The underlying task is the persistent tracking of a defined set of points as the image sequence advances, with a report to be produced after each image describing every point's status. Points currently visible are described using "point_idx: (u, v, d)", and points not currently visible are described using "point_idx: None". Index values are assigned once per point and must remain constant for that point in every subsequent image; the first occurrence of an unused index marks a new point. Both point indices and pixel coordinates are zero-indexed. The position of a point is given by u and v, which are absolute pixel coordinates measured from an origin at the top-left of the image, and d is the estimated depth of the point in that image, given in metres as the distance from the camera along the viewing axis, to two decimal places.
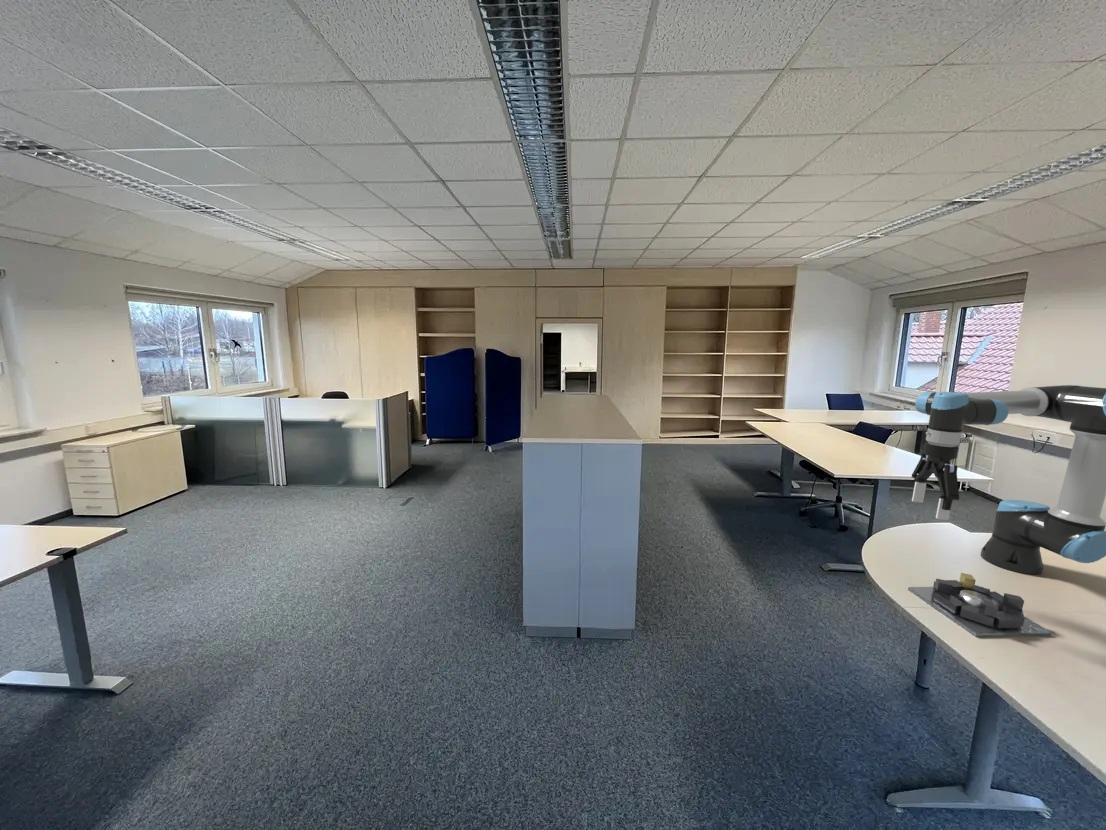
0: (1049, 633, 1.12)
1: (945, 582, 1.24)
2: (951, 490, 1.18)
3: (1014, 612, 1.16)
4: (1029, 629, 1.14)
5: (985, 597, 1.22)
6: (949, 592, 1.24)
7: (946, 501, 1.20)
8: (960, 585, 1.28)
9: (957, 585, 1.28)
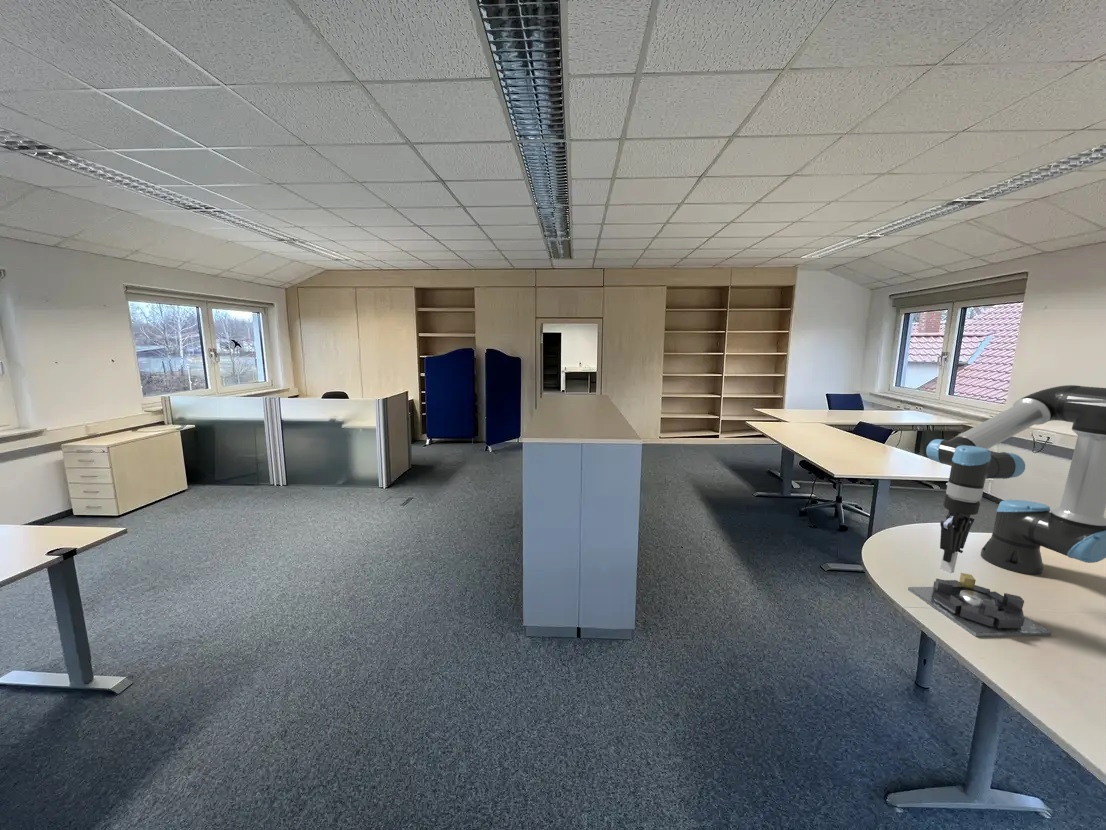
0: (1049, 633, 1.12)
1: (945, 582, 1.24)
2: (943, 543, 1.25)
3: (1014, 612, 1.16)
4: (1029, 629, 1.14)
5: (985, 597, 1.22)
6: (949, 592, 1.24)
7: (945, 552, 1.26)
8: (960, 585, 1.28)
9: (957, 585, 1.28)
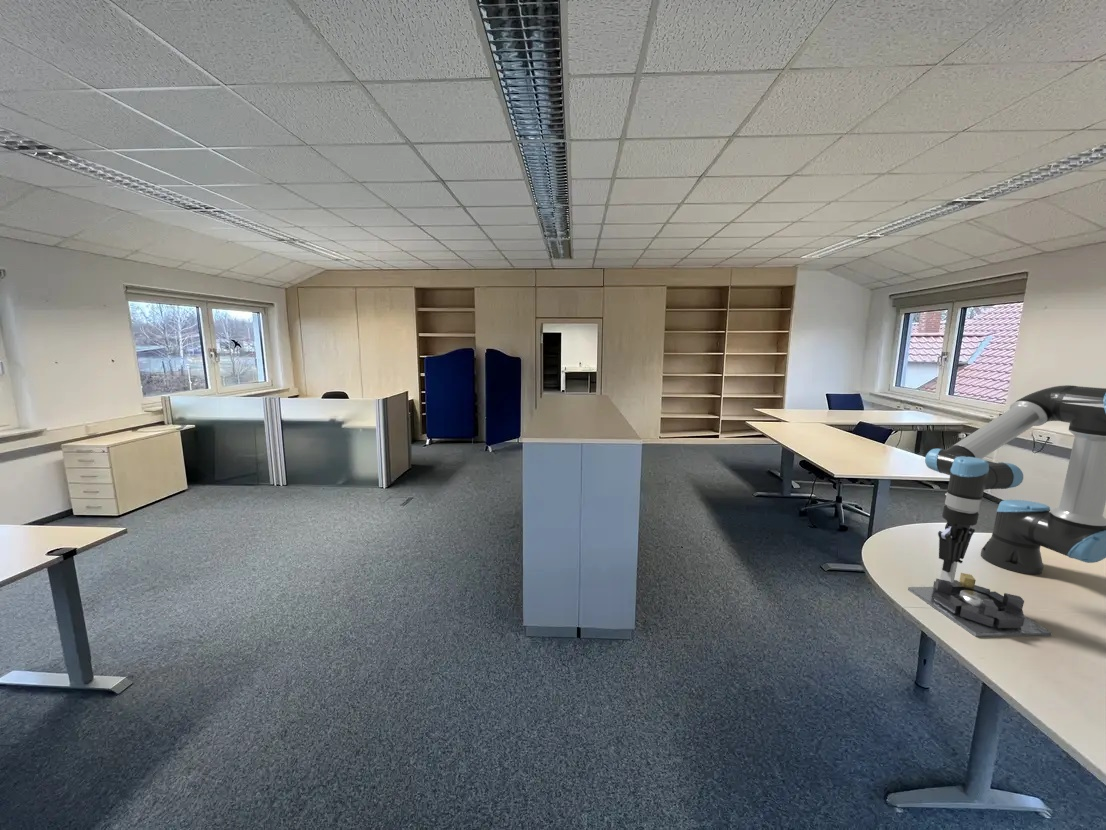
0: (1049, 633, 1.12)
1: (945, 582, 1.24)
2: (941, 553, 1.26)
3: (1014, 612, 1.16)
4: (1029, 629, 1.14)
5: (985, 597, 1.22)
6: (949, 592, 1.24)
7: (944, 562, 1.27)
8: (960, 585, 1.28)
9: (957, 585, 1.28)
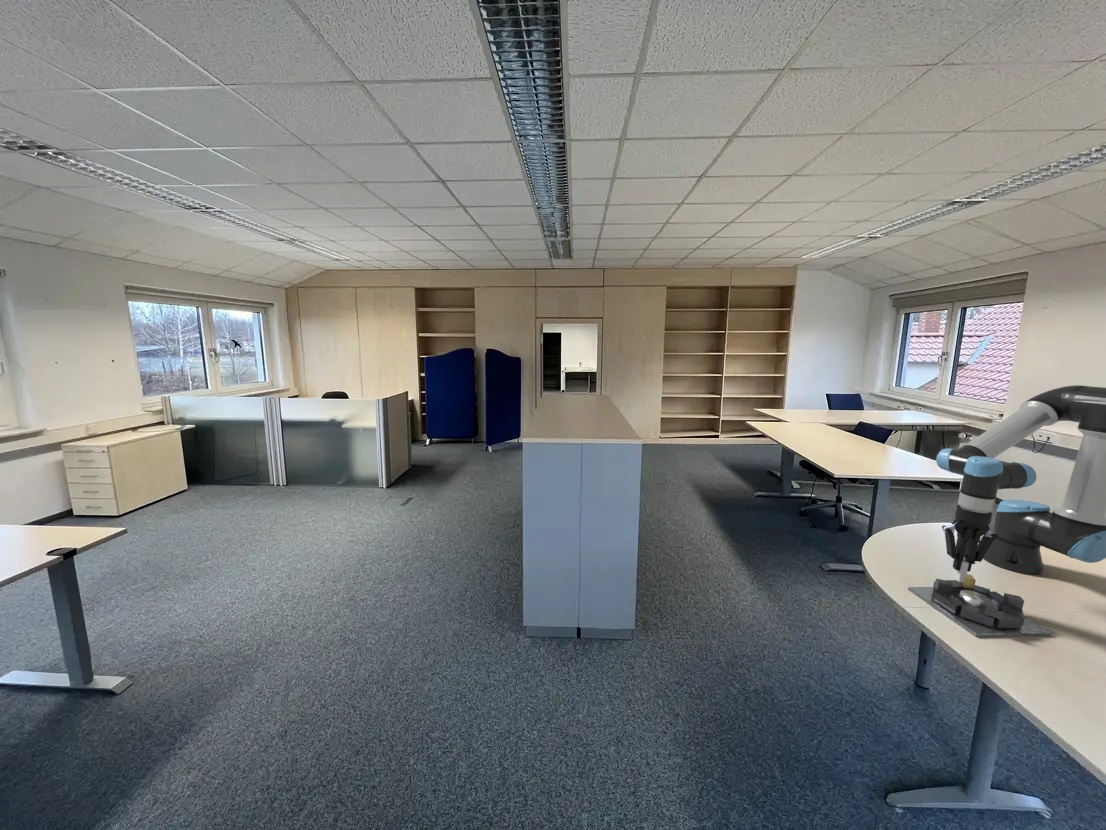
0: (1049, 633, 1.12)
1: (945, 582, 1.24)
2: (947, 548, 1.28)
3: (1014, 612, 1.16)
4: (1029, 629, 1.14)
5: (985, 597, 1.22)
6: (949, 592, 1.24)
7: (954, 560, 1.29)
8: (960, 585, 1.28)
9: (957, 585, 1.28)
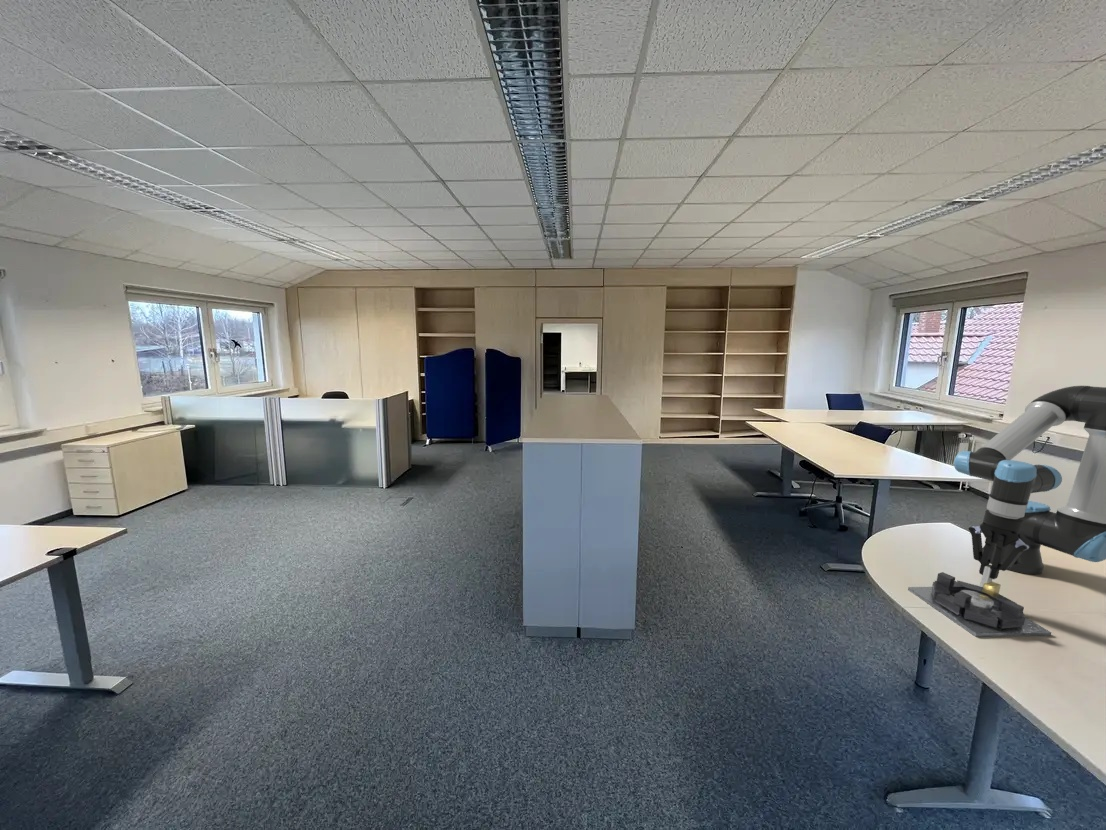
0: (1049, 633, 1.12)
1: (946, 575, 1.28)
2: None
3: (1001, 615, 1.14)
4: (1029, 629, 1.14)
5: (985, 597, 1.22)
6: (947, 585, 1.27)
7: None
8: (981, 590, 1.26)
9: (976, 589, 1.26)
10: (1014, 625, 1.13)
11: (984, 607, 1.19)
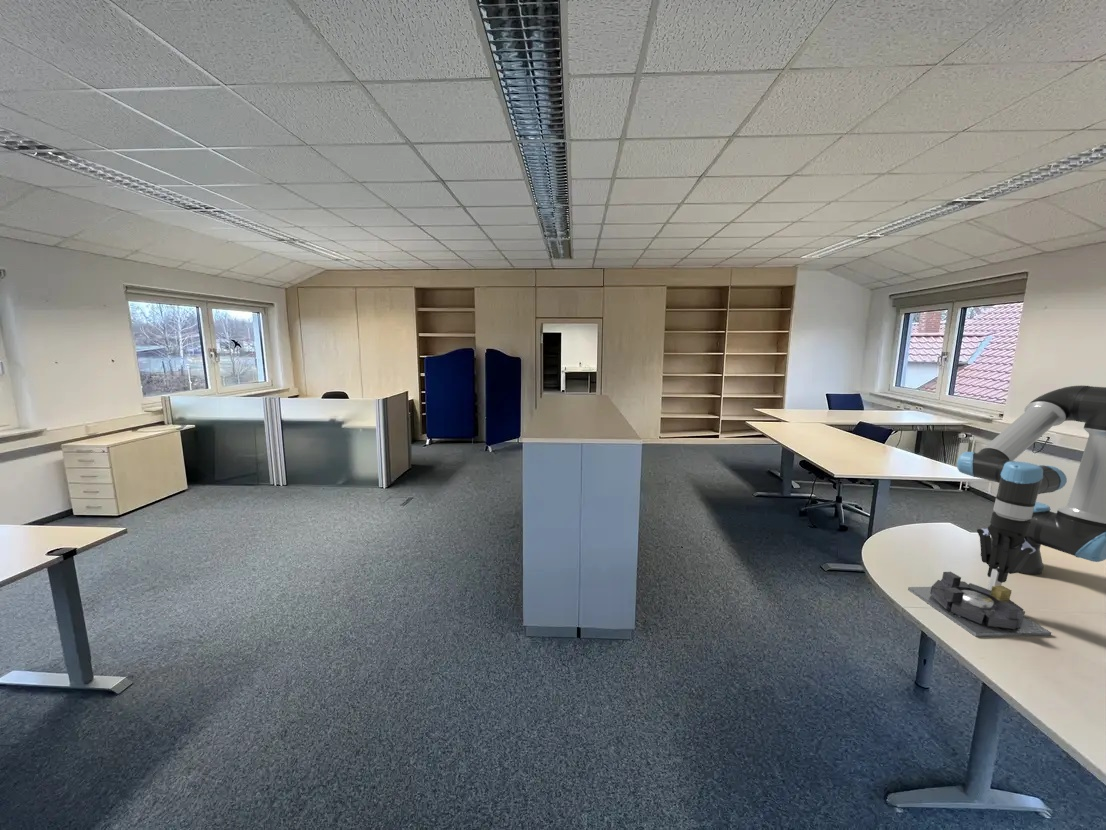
0: (1049, 633, 1.12)
1: (952, 574, 1.28)
2: None
3: (991, 614, 1.15)
4: (1029, 629, 1.14)
5: (985, 597, 1.22)
6: (950, 584, 1.28)
7: None
8: (990, 594, 1.24)
9: (985, 592, 1.25)
10: (1004, 625, 1.13)
11: (984, 607, 1.19)
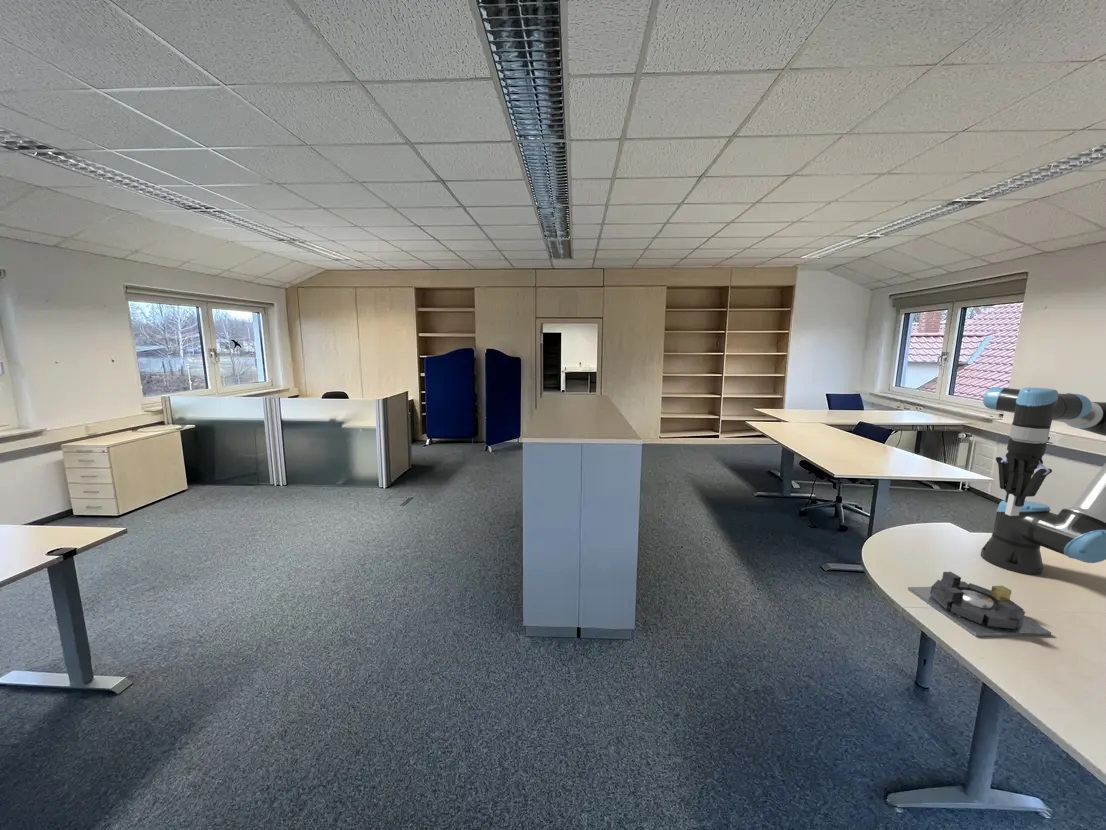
0: (1049, 633, 1.12)
1: (952, 574, 1.28)
2: None
3: (991, 614, 1.15)
4: (1029, 629, 1.14)
5: (985, 597, 1.22)
6: (950, 584, 1.28)
7: None
8: (990, 594, 1.24)
9: (985, 592, 1.25)
10: (1004, 625, 1.13)
11: (984, 607, 1.19)
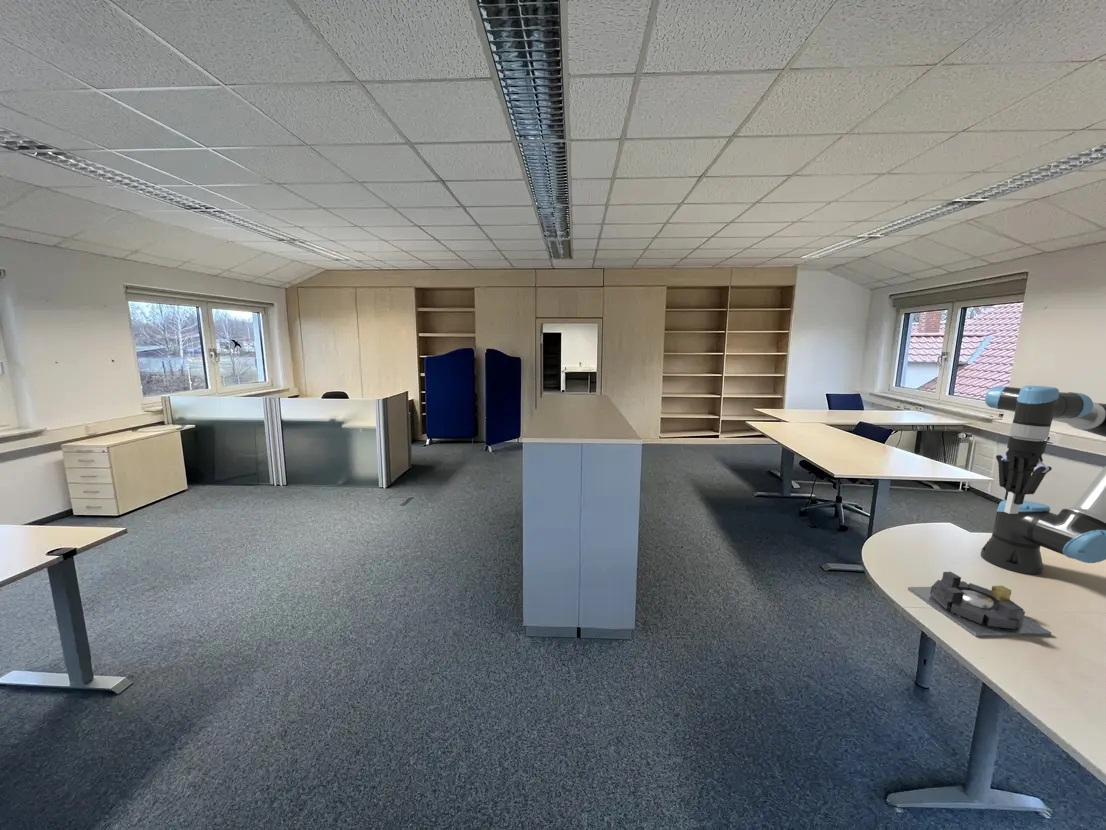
0: (1049, 633, 1.12)
1: (952, 574, 1.28)
2: None
3: (991, 614, 1.15)
4: (1029, 629, 1.14)
5: (985, 597, 1.22)
6: (950, 584, 1.28)
7: None
8: (990, 594, 1.24)
9: (985, 592, 1.25)
10: (1004, 625, 1.13)
11: (984, 607, 1.19)
